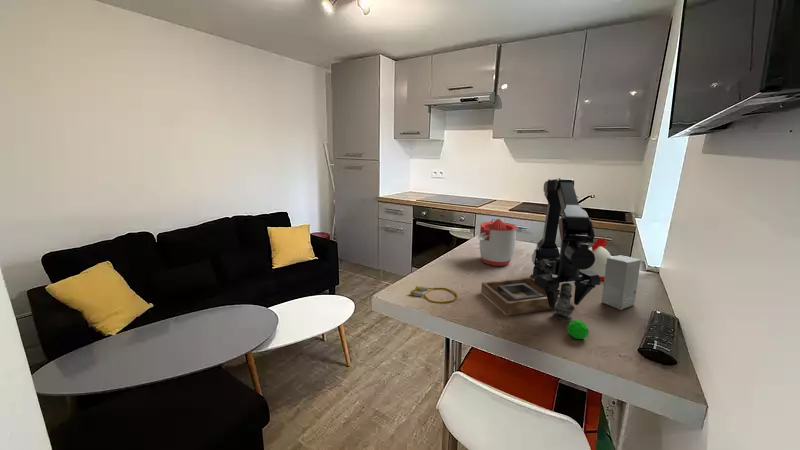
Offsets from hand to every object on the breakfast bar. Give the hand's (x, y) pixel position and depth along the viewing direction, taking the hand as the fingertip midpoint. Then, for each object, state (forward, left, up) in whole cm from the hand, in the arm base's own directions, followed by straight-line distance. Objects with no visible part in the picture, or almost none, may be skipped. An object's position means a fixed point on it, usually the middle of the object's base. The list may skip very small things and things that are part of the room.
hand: (563, 306), depth 97 cm
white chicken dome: (-38, -26, -4) cm, 46 cm away
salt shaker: (0, 0, -4) cm, 4 cm away
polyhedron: (+4, +10, -4) cm, 11 cm away
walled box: (+6, -13, -4) cm, 15 cm away
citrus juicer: (-5, -48, -4) cm, 48 cm away
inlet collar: (+6, -13, -4) cm, 15 cm away
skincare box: (-24, -3, -4) cm, 24 cm away
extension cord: (+32, -24, -4) cm, 40 cm away
